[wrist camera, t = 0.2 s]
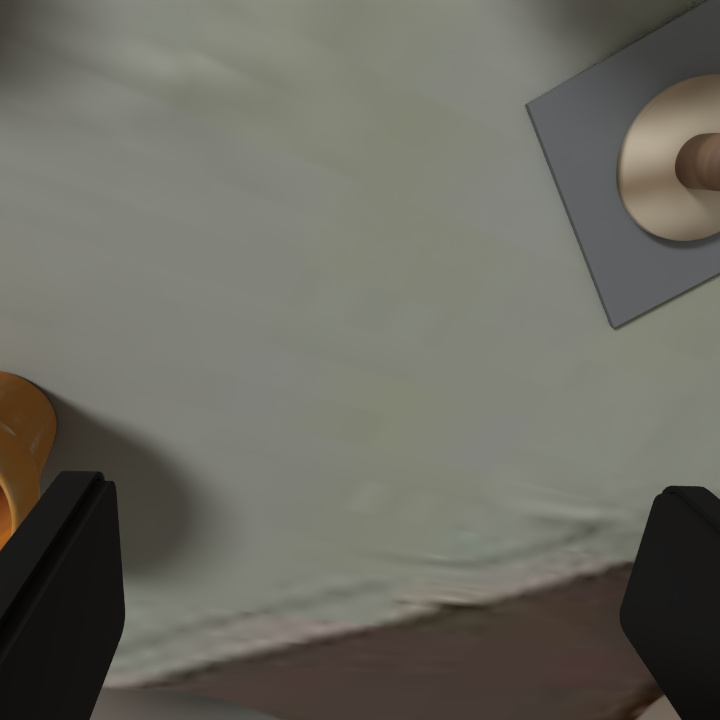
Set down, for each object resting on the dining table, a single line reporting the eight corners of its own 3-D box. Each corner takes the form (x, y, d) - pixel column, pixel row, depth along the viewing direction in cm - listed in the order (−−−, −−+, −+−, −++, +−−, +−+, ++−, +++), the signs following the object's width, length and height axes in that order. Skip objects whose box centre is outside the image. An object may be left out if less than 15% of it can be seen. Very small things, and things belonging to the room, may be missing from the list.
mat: (524, 104, 42) (527, 104, 41) (776, -40, 40) (783, -43, 40) (610, 325, 49) (613, 328, 48) (828, 211, 47) (834, 212, 47)
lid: (594, 127, 43) (635, 124, 37) (743, 44, 41) (806, 28, 36) (642, 265, 47) (685, 279, 41) (779, 192, 46) (840, 197, 40)
